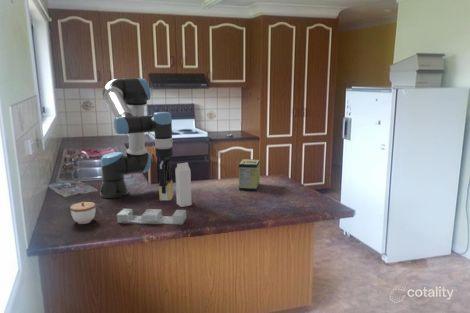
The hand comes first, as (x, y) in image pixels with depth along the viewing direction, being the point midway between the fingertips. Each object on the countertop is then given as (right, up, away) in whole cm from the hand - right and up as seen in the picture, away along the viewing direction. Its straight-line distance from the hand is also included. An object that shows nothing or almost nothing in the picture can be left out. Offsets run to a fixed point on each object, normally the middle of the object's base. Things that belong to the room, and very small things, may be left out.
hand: (166, 197), depth 173 cm
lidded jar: (-38, -11, +2) cm, 40 cm away
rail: (-7, -11, +3) cm, 13 cm away
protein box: (+40, 0, +55) cm, 68 cm away
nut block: (0, 0, 0) cm, 0 cm away
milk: (+5, -6, +25) cm, 26 cm away
